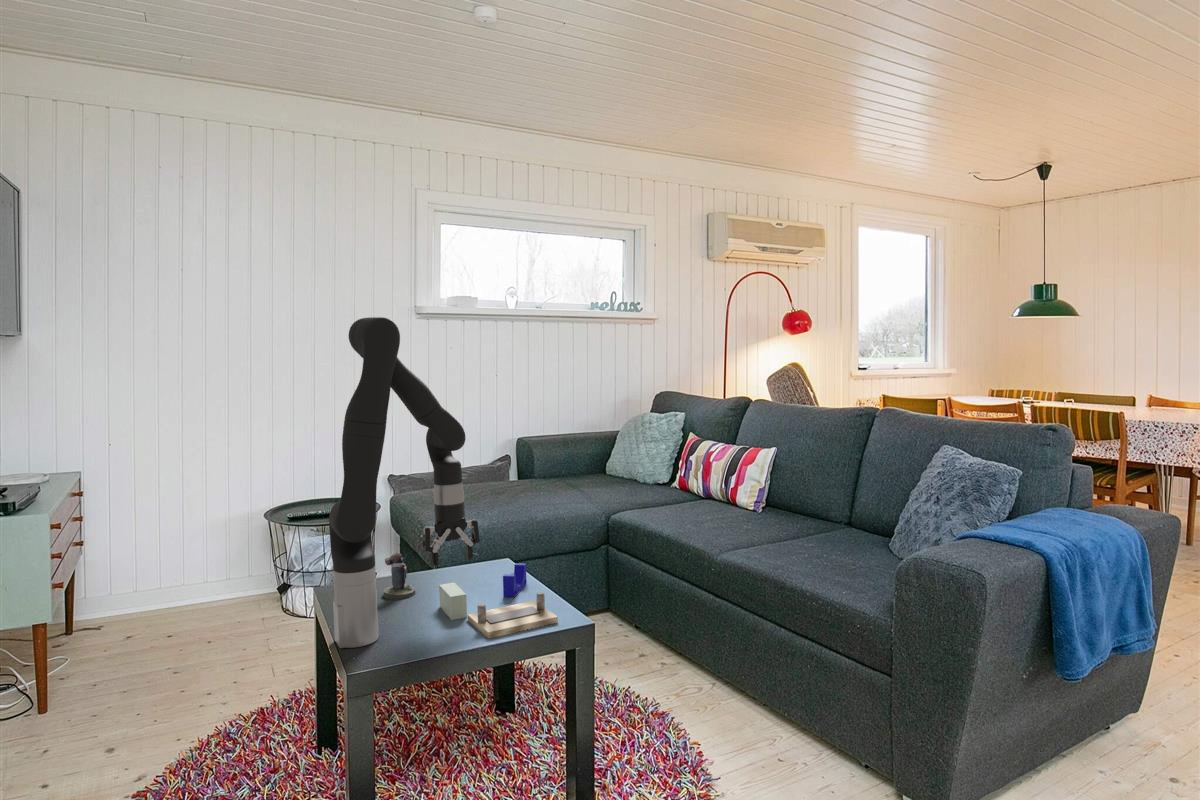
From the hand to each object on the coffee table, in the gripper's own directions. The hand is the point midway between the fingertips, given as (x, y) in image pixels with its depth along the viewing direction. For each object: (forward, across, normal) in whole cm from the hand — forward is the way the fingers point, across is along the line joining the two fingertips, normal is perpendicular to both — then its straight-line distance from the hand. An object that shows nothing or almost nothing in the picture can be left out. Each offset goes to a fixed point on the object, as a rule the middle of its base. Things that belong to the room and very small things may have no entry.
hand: (452, 563), depth 184 cm
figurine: (+13, -9, +22) cm, 27 cm away
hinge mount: (+13, +10, -15) cm, 22 cm away
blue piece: (+13, +19, +8) cm, 25 cm away
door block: (+13, 0, 0) cm, 13 cm away
